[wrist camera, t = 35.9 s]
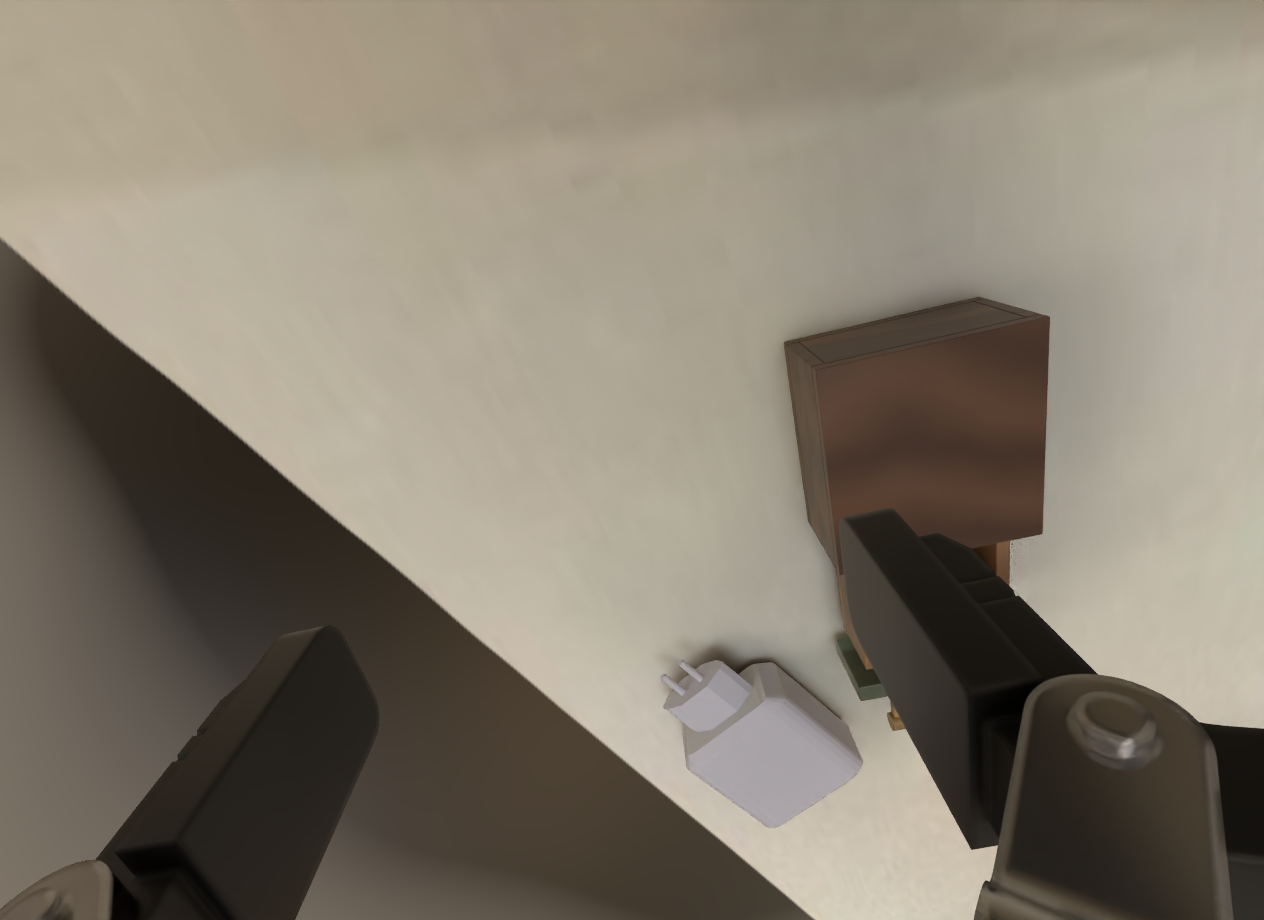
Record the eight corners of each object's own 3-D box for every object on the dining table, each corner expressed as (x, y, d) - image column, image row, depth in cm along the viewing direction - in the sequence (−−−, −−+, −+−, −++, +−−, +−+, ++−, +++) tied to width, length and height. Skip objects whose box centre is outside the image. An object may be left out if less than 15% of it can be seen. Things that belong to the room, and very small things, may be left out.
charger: (715, 607, 44) (844, 718, 48) (624, 681, 46) (755, 780, 51) (726, 653, 40) (867, 770, 44) (624, 731, 42) (768, 835, 46)
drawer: (981, 676, 46) (1019, 726, 41) (843, 702, 46) (866, 754, 42) (978, 483, 40) (1022, 518, 35) (819, 517, 40) (844, 555, 36)
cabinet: (981, 485, 41) (1042, 534, 35) (807, 521, 41) (839, 576, 35) (979, 296, 36) (1050, 316, 30) (783, 342, 37) (815, 370, 31)
